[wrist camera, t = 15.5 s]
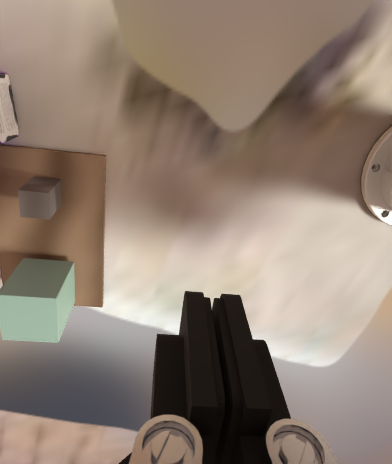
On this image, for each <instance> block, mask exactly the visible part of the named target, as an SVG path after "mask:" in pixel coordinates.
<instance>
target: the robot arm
mask: <svg viewBox="0 0 392 464" xmlns="http://www.w3.org/2000/svg"><path fill="white" fill-rule="evenodd" d="M373 165H374V166H373ZM372 166H373V167H372ZM361 190H362V194H363V199H364V201H365V203H366V205H367V207H368V208H369V210H370V211H371V212H372V213H373V214H374V215H375V216H376V217H377V218H378V219H380V220H381V221H383V222H384V223H386V224H388V225H390V226H392V126H391V127H390V128H389V129H388V130H387V131H386V132H385V133H384V134H383V135H382V136H381V137H380V138H379V140H378V141H377V142H376V143H375V145H374V146H373V148H372V150H371V151H370V153H369V155H368V157H367V159H366V162H365V165H364V167H363V173H362V178H361ZM119 464H338V462H337V460H336V458H335V456H334V454H333V453H332V451H331V449H330V447H329V446H328V444H327V442H326V441H325V439H324V438H323V437H322V435H321V434H320V433H319V432H318V431H316V430H315V429H314V428H313V427H311V426H310V425H308V424H306V423H305V422H302V421H299V420H295V419H291V417H290V414H289V411H288V408H287V405H286V402H285V399H284V395H283V392H282V389H281V387H280V383H279V380H278V377H277V374H276V371H275V368H274V365H273V362H272V359H271V356H270V353H269V349H268V346H267V344H266V342H265V341H264V340H253V339H252V335H251V332H250V328H249V325H248V321H247V318H246V314H245V310H244V307H243V303H242V300H241V297H240V295H232V294H221V296H220V298H215V299H214V302H213V307H212V308H211V302H210V298H206V297H204V294H203V292H189V291H185V294H184V301H183V308H182V316H181V324H180V331H179V335H166V334H157V339H156V350H155V361H154V373H153V386H152V402H151V417H150V420H149V421H147V422H146V423H145V424H144V425H143V426H142V428H141V429H140V430H139V432H138V434H137V436H136V439H135V442H134V446H133V450H132V453H130V454H129V455H128V456H127V457H126V458H125V459H123V460H122V461H121V462H120V463H119Z"/></svg>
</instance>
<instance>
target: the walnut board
mask: <svg viewBox="0 0 392 464" xmlns="http://www.w3.org/2000/svg"><path fill="white" fill-rule="evenodd" d="M105 157H106V156H104V155H95V154H85V153H76V152H66V151H57V150H48V149H38V148H29V147H19V146H10V145H0V267H1V275H2V283H3V285H4V283H5V282H6V281H7V279H8V278H9V277H10V275H11V274H12V273H13V271H14V270H15V269H16V267H17V266H18V265H19V263H20V262H21V261H22V259H23V258H31V259H45V260H58V261H71V262H74V276H75V303H74V306H90V307H102V306H103V278H104V217H105Z"/></svg>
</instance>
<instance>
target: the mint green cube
mask: <svg viewBox="0 0 392 464" xmlns="http://www.w3.org/2000/svg"><path fill="white" fill-rule="evenodd" d="M74 303H75V276H74V262H71V261H58V260H45V259H31V258H23V259H22V261H21V262H20V263H19V265H18V266H17V267H16V269H15V270H14V271H13V273H12V274H11V275H10V277H9V278H8V279H7V281H6V282H5V283H4V285H3V286H2V288H1V289H0V327H1V335H2V340H18V341H38V342H56V343H58V342H59V340H60V337H61V335H62V332H63V330H64V328H65V325H66V323H67V320H68V318H69V315H70V312H71V310H72V308H73V305H74Z"/></svg>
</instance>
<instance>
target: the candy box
mask: <svg viewBox="0 0 392 464" xmlns="http://www.w3.org/2000/svg"><path fill="white" fill-rule="evenodd" d="M17 136H19V130H18V124H17V119H16V113H15V108H14V102H13V95H12V90H11V84H10V80H9V75H8V74H6V73H4V72H0V145H1V144H3V143H5V142H7V141H9V140H11V139H13V138H15V137H17Z"/></svg>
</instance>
